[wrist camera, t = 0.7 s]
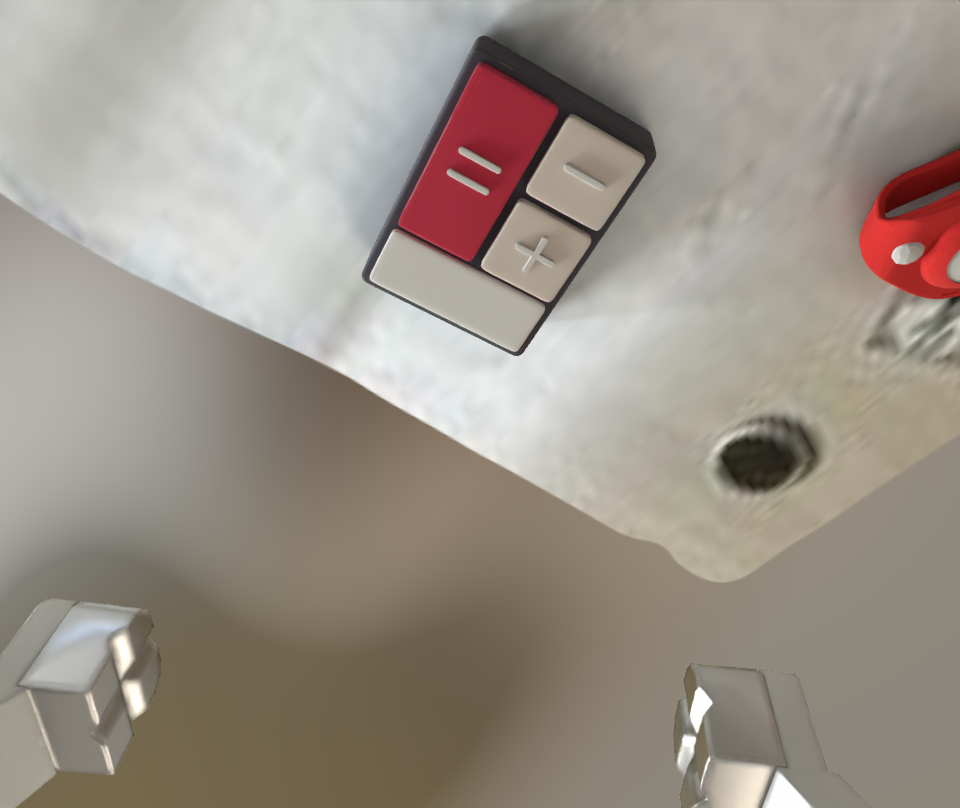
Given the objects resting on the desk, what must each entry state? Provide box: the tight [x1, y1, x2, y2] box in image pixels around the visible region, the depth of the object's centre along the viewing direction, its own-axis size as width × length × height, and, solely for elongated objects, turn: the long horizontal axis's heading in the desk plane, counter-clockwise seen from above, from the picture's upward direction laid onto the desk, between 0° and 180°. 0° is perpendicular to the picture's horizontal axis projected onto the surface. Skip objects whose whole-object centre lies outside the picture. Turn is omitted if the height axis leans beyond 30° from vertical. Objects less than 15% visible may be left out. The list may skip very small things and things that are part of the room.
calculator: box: [362, 36, 656, 356], centre depth 47 cm, size 11×4×15 cm
